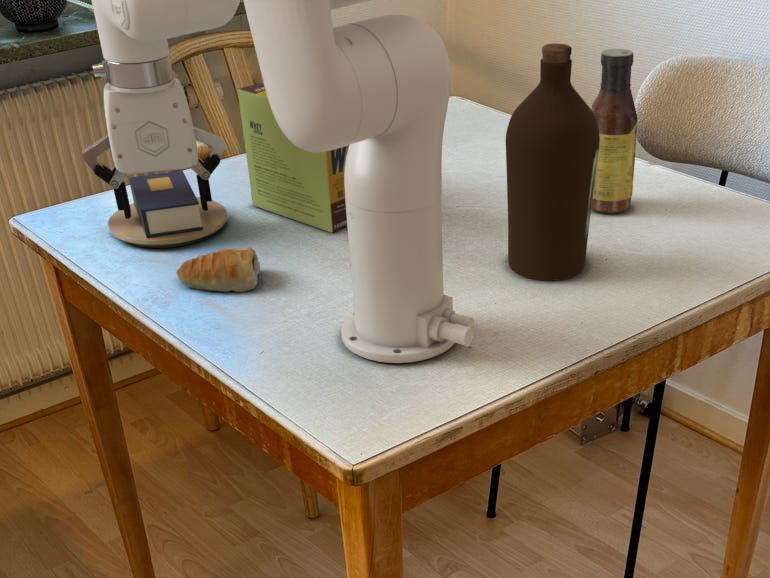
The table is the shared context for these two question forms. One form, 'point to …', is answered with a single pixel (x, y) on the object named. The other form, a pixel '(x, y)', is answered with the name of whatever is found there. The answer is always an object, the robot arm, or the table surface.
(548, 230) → the olive oil
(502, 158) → the table surface
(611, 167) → the sauce bottle
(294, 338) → the table surface
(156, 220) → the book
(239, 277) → the pastry
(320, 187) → the protein box
